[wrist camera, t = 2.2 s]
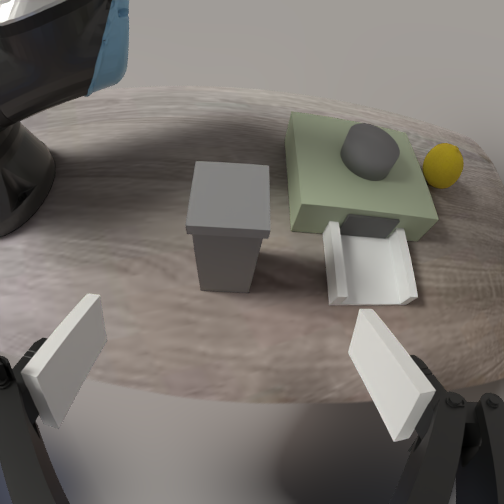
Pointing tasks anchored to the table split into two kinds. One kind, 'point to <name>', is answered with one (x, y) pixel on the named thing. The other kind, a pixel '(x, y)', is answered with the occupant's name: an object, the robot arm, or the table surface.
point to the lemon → (443, 165)
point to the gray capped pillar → (228, 222)
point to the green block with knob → (358, 205)
